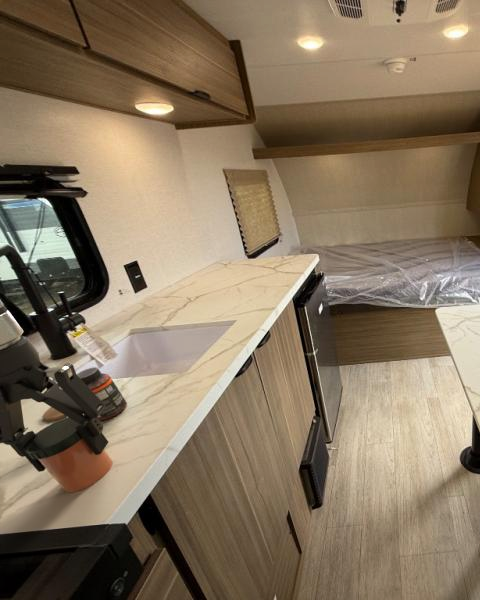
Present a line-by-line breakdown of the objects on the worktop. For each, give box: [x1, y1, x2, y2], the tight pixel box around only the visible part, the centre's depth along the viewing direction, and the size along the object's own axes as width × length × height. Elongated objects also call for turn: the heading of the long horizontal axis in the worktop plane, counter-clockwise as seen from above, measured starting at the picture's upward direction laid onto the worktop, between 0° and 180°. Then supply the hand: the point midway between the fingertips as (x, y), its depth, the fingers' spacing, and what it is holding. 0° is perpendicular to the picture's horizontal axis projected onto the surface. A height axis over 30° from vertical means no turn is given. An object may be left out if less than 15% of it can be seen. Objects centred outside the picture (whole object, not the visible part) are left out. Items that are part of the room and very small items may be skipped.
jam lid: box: [24, 417, 82, 459], centre depth 54 cm, size 8×8×2 cm
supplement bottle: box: [76, 366, 128, 421], centre depth 71 cm, size 6×6×11 cm
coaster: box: [42, 406, 68, 422], centre depth 76 cm, size 8×8×1 cm
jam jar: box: [38, 438, 113, 493], centre depth 55 cm, size 7×7×10 cm
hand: (74, 456), depth 56 cm, fingers closed on jam lid, 8 cm apart
